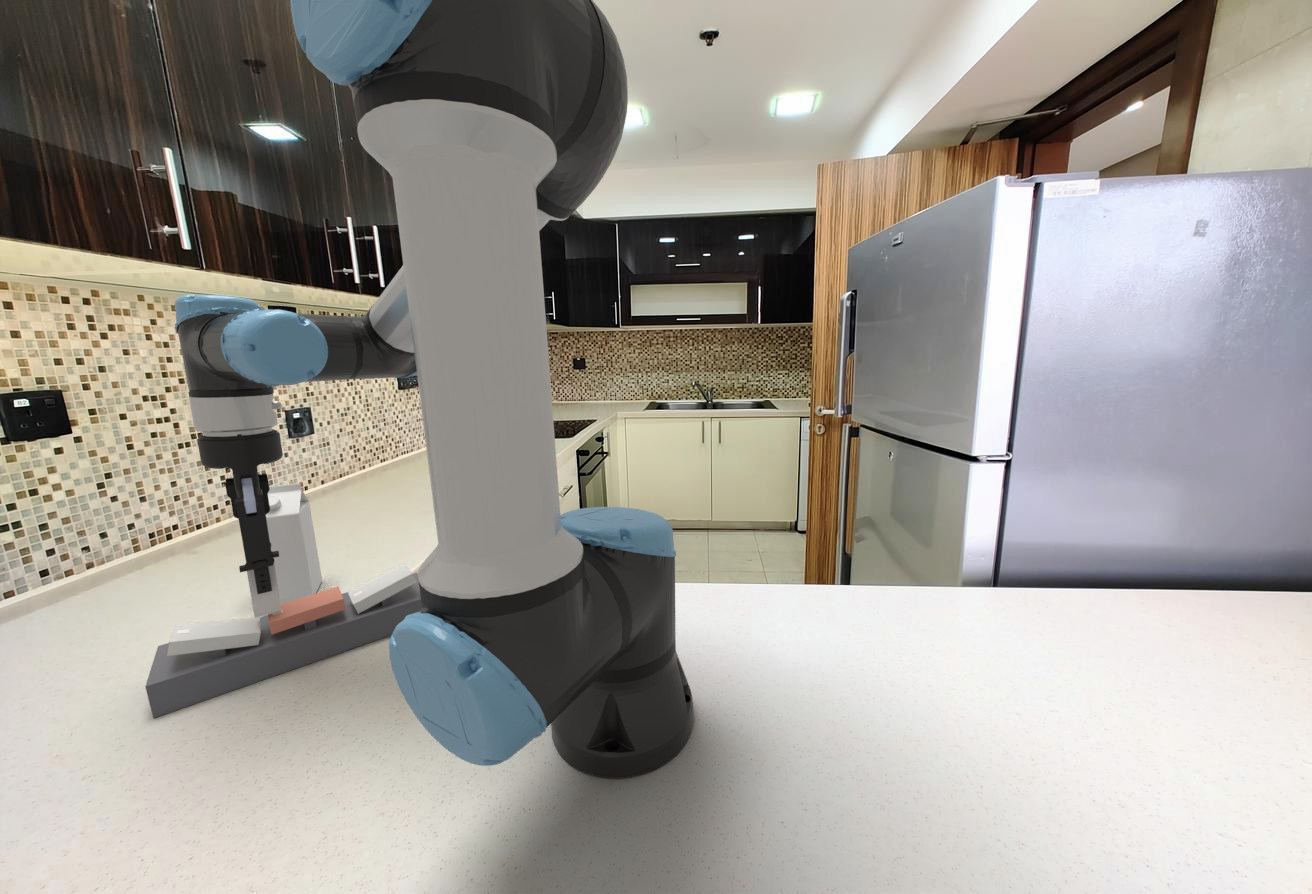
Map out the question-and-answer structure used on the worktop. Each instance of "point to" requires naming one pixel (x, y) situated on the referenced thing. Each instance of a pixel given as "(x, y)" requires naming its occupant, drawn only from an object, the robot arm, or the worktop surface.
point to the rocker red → (306, 609)
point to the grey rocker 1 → (214, 635)
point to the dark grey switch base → (272, 652)
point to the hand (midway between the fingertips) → (268, 611)
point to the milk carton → (293, 542)
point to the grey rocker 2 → (381, 587)
